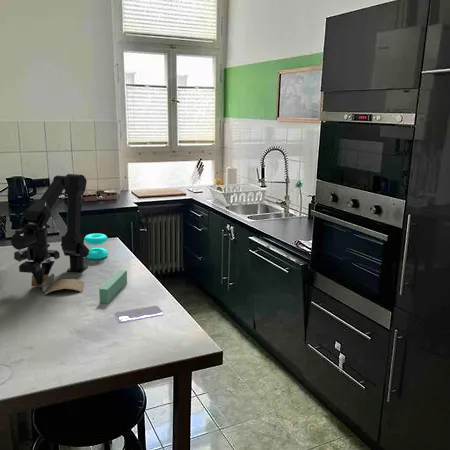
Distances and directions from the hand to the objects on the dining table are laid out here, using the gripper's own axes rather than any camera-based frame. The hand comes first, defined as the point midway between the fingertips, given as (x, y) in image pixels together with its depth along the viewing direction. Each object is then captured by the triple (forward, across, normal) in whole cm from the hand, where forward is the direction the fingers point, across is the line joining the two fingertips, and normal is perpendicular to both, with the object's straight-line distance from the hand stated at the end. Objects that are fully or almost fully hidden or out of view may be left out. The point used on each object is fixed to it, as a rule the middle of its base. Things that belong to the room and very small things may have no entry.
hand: (41, 282), depth 169 cm
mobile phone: (+2, +16, +42) cm, 46 cm away
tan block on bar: (+1, 0, 0) cm, 1 cm away
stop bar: (+2, 0, +28) cm, 28 cm away
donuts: (+2, -39, +5) cm, 39 cm away
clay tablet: (+2, 0, +9) cm, 9 cm away
